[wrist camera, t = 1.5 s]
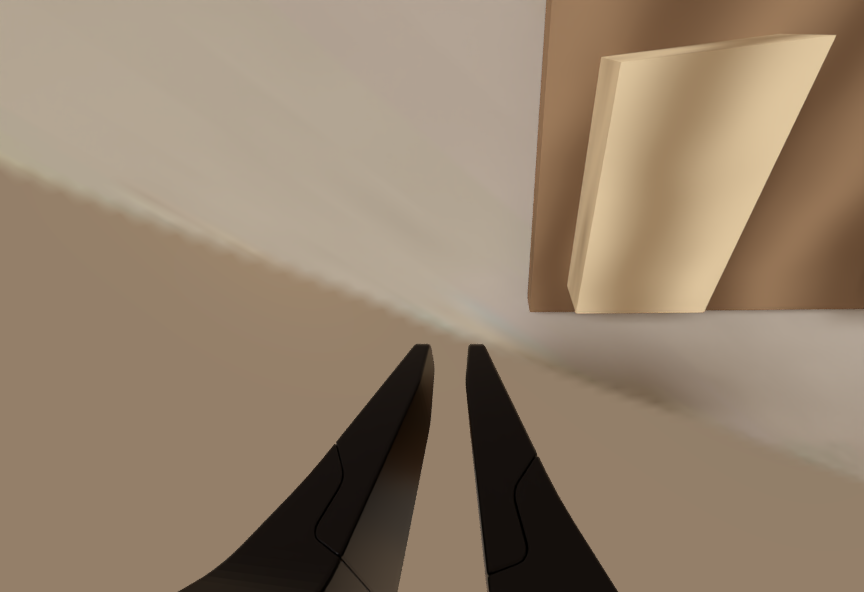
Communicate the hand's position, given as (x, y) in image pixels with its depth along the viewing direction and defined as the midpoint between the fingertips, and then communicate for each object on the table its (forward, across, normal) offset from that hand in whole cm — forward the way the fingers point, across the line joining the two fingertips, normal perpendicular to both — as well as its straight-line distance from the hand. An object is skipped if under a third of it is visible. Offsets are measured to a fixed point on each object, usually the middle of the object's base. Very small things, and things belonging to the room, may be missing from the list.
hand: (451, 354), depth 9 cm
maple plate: (+10, -8, 0) cm, 14 cm away
